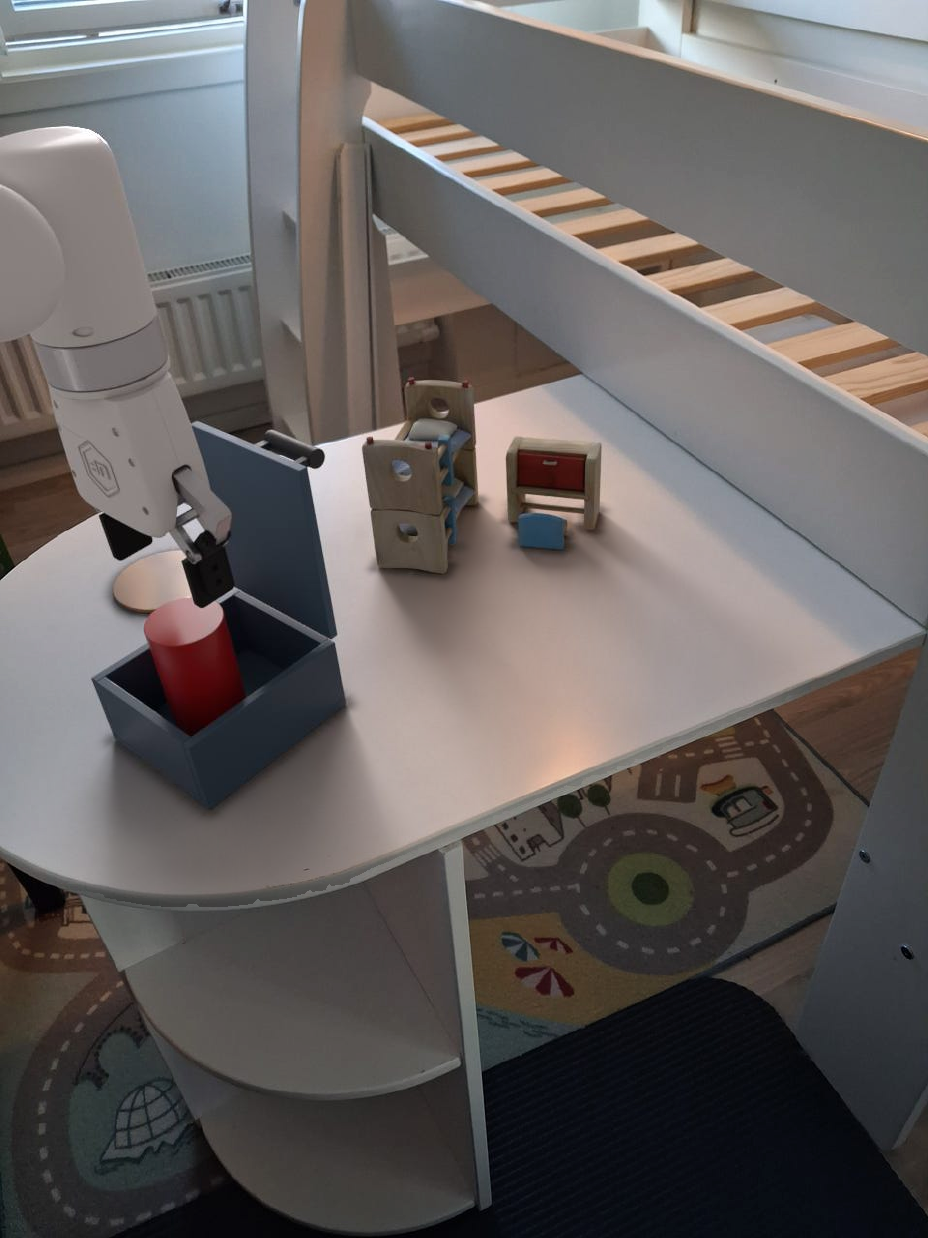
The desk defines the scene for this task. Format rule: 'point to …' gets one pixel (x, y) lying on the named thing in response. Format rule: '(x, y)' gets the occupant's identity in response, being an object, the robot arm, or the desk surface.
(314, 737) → the desk surface
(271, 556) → the lid
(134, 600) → the coaster
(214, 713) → the can
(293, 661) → the blue rectangular box
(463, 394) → the dollhouse furniture set
